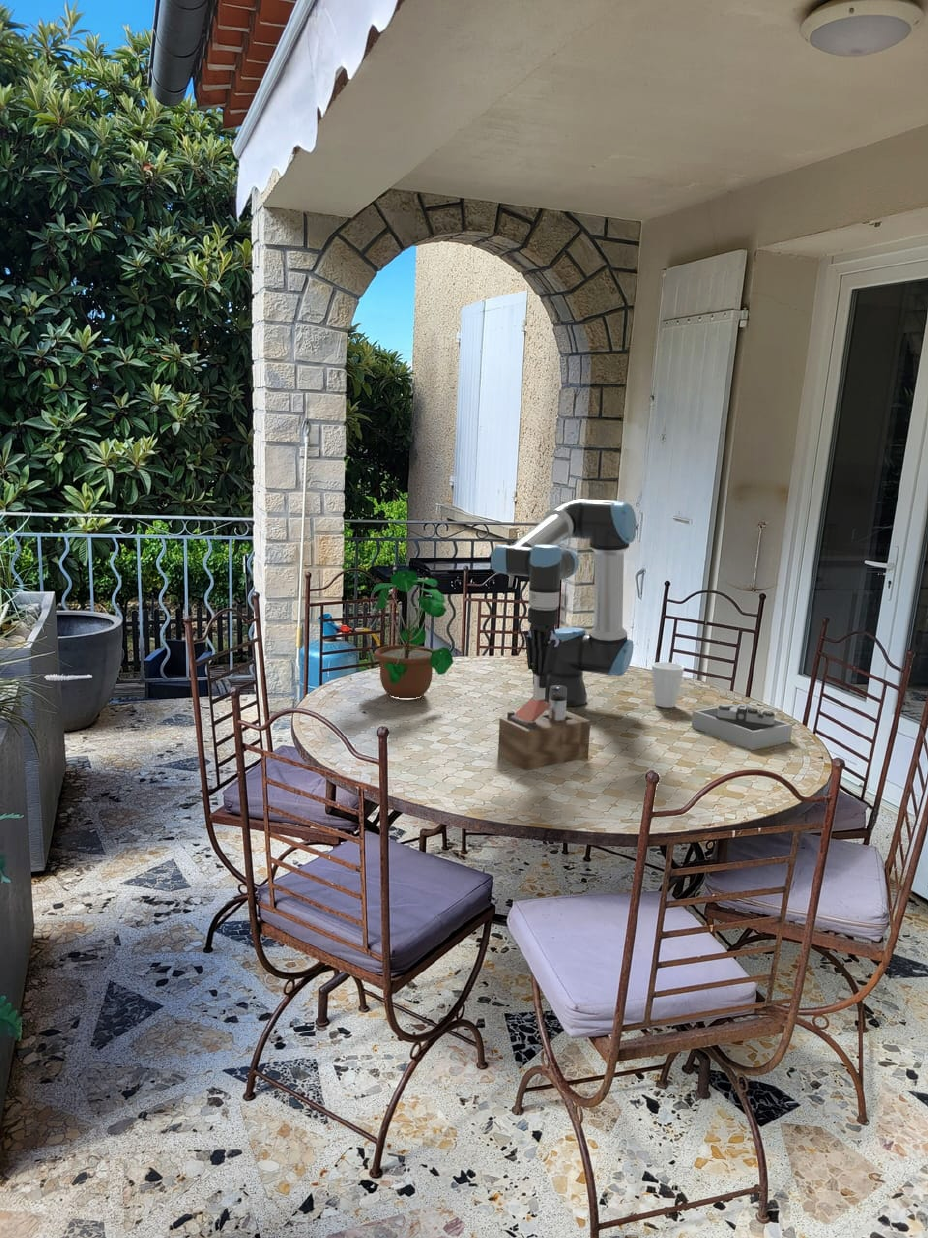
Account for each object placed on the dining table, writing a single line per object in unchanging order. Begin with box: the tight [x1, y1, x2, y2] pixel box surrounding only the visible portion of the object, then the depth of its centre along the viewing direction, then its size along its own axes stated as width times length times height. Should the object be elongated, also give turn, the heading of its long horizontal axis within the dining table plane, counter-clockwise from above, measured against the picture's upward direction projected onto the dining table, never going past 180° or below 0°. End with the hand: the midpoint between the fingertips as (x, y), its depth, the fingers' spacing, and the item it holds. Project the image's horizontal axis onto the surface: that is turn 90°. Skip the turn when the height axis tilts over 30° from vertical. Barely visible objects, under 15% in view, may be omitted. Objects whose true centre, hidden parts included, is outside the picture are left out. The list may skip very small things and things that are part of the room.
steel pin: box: [548, 685, 567, 722], centre depth 227 cm, size 4×4×16 cm
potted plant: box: [371, 570, 454, 698], centre depth 275 cm, size 31×29×40 cm
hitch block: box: [497, 710, 591, 771], centre depth 225 cm, size 20×12×12 cm, turn 122°
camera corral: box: [691, 704, 793, 751], centre depth 251 cm, size 16×22×5 cm
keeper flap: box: [510, 696, 550, 727], centre depth 221 cm, size 8×7×1 cm
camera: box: [716, 703, 776, 731], centre depth 249 cm, size 16×10×10 cm, turn 67°
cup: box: [651, 661, 685, 708], centre depth 276 cm, size 10×10×13 cm
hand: (538, 699), depth 222 cm, fingers closed
